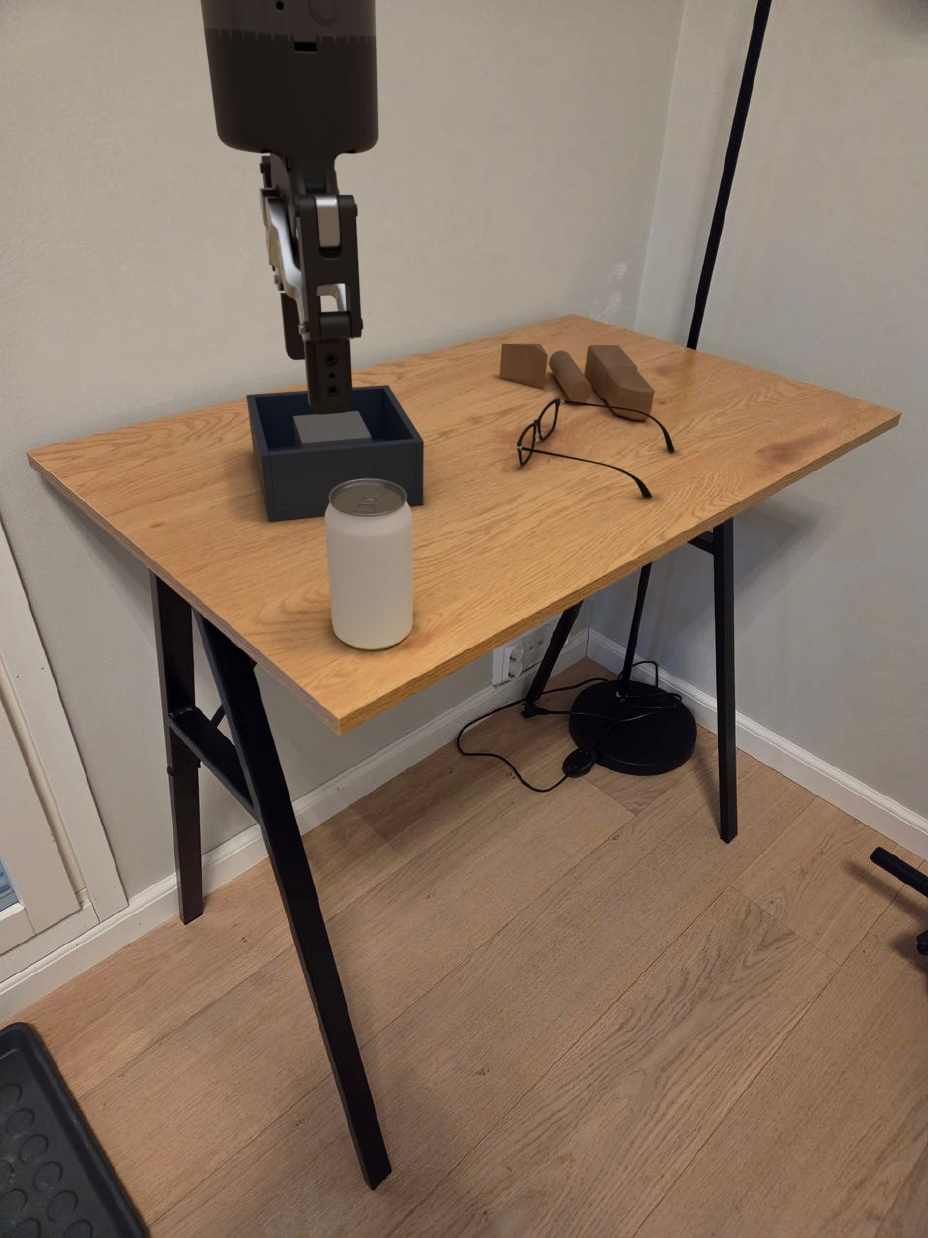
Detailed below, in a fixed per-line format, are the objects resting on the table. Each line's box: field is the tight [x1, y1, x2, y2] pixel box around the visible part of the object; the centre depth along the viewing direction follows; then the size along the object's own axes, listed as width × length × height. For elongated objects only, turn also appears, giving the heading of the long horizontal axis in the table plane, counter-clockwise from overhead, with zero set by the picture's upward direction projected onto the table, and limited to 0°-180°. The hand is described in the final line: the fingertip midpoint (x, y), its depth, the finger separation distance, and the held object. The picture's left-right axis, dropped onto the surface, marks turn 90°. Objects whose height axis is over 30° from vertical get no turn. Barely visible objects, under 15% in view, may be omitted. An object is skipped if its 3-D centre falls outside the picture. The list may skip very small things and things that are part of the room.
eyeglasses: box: [515, 397, 676, 499], centre depth 90 cm, size 16×16×4 cm
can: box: [324, 478, 414, 651], centre depth 60 cm, size 6×6×12 cm
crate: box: [246, 384, 425, 523], centre depth 83 cm, size 16×16×7 cm
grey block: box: [293, 411, 372, 449], centre depth 83 cm, size 7×7×5 cm
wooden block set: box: [498, 343, 656, 421], centre depth 105 cm, size 17×6×18 cm
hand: (317, 382), depth 45 cm, fingers open, 8 cm apart
